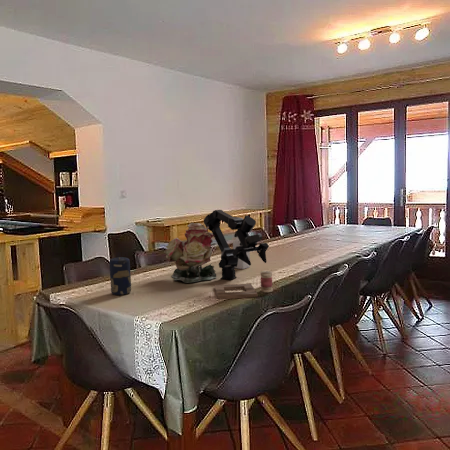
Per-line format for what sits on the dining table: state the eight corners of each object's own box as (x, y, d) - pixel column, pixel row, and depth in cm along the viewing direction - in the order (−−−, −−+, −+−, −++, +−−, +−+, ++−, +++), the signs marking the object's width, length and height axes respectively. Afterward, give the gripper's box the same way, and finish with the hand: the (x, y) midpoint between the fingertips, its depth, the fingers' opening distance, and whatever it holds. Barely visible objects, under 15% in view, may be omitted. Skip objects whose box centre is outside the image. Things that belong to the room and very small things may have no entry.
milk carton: (240, 265, 270) (240, 235, 268) (250, 267, 265) (249, 235, 263) (233, 268, 264) (232, 236, 262) (243, 269, 260) (242, 237, 258)
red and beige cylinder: (258, 291, 208) (258, 272, 207) (264, 288, 213) (263, 270, 212) (269, 292, 205) (268, 273, 204) (274, 290, 210) (274, 271, 209)
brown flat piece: (214, 288, 217) (214, 285, 217) (250, 286, 219) (250, 283, 219) (217, 299, 197) (217, 295, 197) (257, 296, 199) (257, 293, 199)
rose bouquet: (162, 276, 247) (159, 222, 244) (212, 271, 256) (209, 219, 254) (173, 285, 222) (170, 226, 220) (227, 279, 232) (225, 222, 230)
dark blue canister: (133, 290, 217) (131, 254, 215) (129, 295, 207) (127, 257, 206) (113, 291, 217) (111, 255, 215) (109, 296, 207) (106, 258, 205)
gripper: (235, 229, 211) (249, 256, 203) (266, 226, 221) (280, 251, 213) (226, 244, 218) (239, 270, 210) (257, 240, 228) (270, 265, 220)
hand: (258, 263), depth 213 cm, fingers open, 9 cm apart
